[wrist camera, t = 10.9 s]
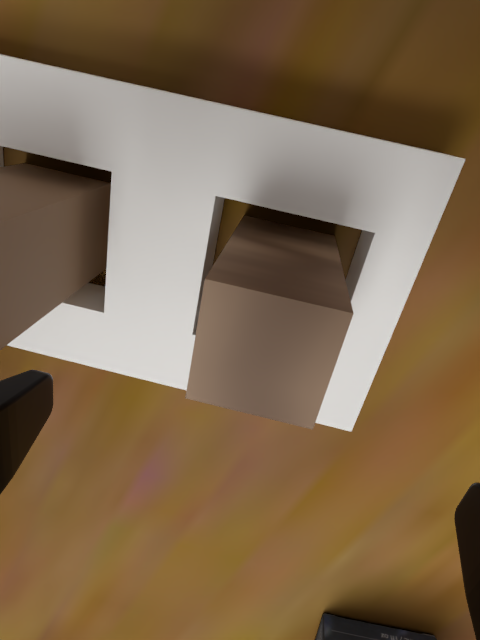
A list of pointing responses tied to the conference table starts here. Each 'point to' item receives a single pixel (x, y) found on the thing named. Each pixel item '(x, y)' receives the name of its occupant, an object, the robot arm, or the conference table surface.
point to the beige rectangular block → (271, 323)
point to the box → (362, 631)
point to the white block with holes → (188, 220)
